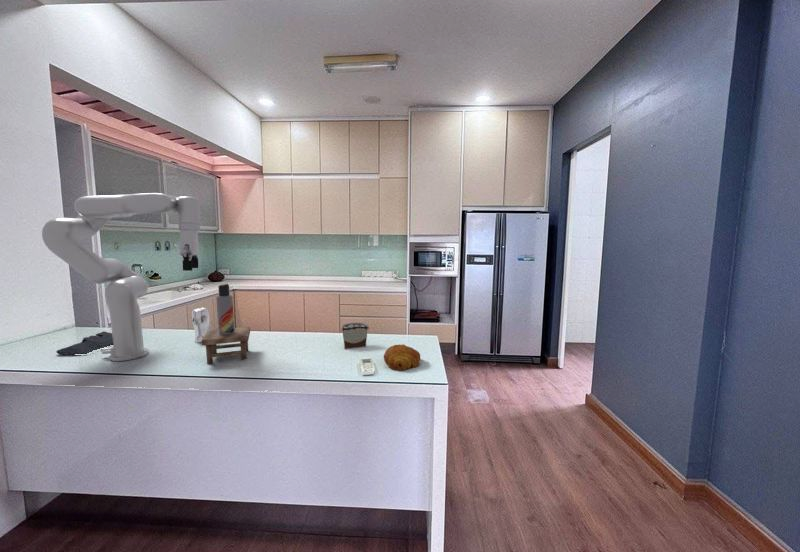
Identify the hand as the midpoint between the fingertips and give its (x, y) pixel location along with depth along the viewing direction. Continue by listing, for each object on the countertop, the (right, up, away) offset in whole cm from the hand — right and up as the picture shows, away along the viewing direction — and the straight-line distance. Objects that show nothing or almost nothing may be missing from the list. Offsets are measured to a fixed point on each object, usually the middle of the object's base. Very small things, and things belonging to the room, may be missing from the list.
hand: (190, 269), depth 139 cm
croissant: (+87, -37, -8) cm, 95 cm away
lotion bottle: (+17, -26, -4) cm, 31 cm away
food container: (+66, -34, +12) cm, 75 cm away
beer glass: (-6, -33, +18) cm, 38 cm away
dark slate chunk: (-49, -35, +8) cm, 61 cm away
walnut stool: (+17, -36, -2) cm, 40 cm away
